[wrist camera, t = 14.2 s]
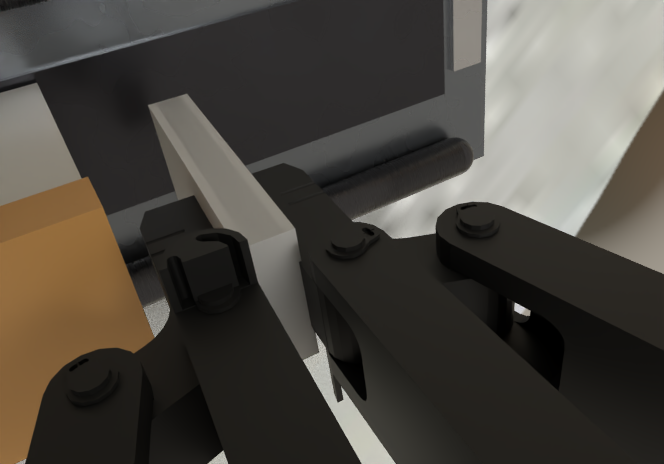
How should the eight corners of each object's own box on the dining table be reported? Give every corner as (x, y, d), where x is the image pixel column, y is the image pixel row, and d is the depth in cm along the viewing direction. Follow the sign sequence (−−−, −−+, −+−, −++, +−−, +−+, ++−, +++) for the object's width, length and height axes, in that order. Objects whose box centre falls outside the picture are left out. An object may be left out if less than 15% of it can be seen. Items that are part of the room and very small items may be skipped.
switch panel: (-63, 322, 20) (-62, 414, 17) (-302, -38, 14) (-375, -4, 11) (437, 130, 27) (508, 169, 24) (430, -170, 21) (525, -175, 17)
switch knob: (-23, 262, 16) (1, 470, 11) (-106, 117, 14) (-130, 288, 9) (97, 219, 18) (174, 388, 12) (39, 77, 15) (102, 206, 10)
